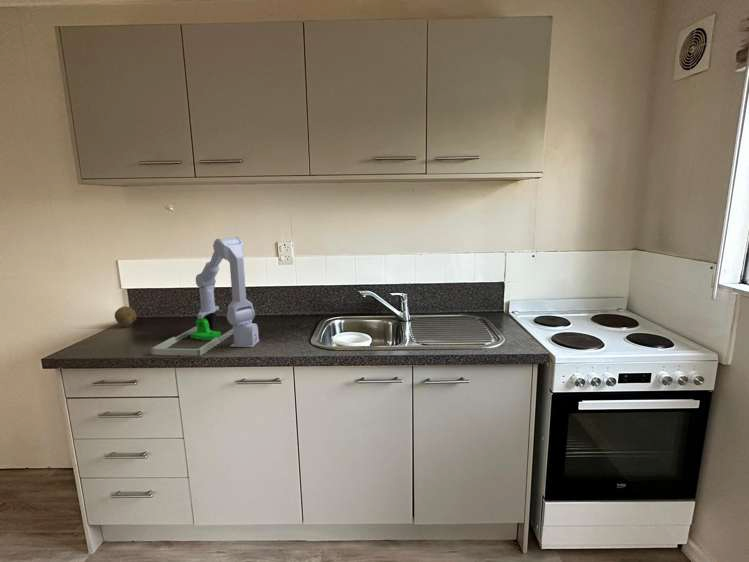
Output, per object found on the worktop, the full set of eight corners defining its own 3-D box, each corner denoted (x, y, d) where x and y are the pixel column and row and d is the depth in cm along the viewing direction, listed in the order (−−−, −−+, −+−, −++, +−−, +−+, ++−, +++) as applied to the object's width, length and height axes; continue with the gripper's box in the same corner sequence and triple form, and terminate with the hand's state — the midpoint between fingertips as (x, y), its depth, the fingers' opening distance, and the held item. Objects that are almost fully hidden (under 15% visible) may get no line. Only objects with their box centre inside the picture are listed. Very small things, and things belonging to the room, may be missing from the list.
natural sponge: (128, 323, 201) (125, 303, 199) (142, 324, 199) (139, 304, 197) (112, 328, 192) (109, 308, 191) (126, 329, 190) (123, 309, 188)
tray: (218, 343, 167) (218, 337, 167) (200, 356, 154) (199, 349, 153) (173, 342, 170) (172, 337, 169) (151, 354, 156) (150, 348, 156)
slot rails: (240, 329, 187) (239, 325, 187) (218, 343, 167) (218, 339, 167) (199, 328, 189) (198, 324, 189) (173, 342, 170) (172, 338, 170)
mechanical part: (190, 338, 176) (187, 320, 174) (201, 333, 181) (198, 316, 179) (210, 341, 171) (207, 323, 169) (221, 336, 176) (218, 319, 174)
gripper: (207, 296, 185) (210, 324, 188) (189, 304, 171) (192, 334, 174) (222, 296, 184) (224, 325, 187) (205, 304, 170) (208, 335, 173)
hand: (210, 329), depth 180 cm, fingers closed
